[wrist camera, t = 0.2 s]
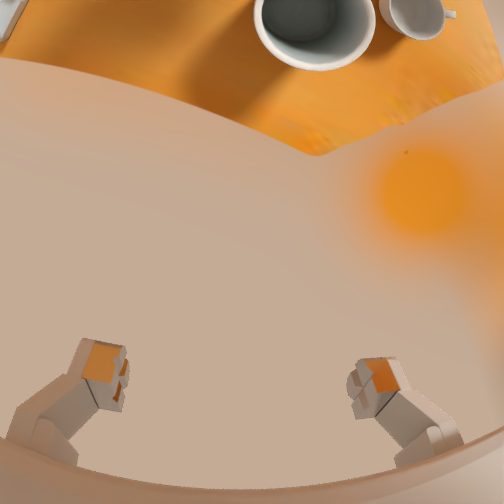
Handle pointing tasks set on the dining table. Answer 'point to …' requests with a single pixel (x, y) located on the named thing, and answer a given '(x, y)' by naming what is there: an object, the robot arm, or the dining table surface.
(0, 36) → the tray
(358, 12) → the utensil holder
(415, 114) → the dining table surface
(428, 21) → the teacup
